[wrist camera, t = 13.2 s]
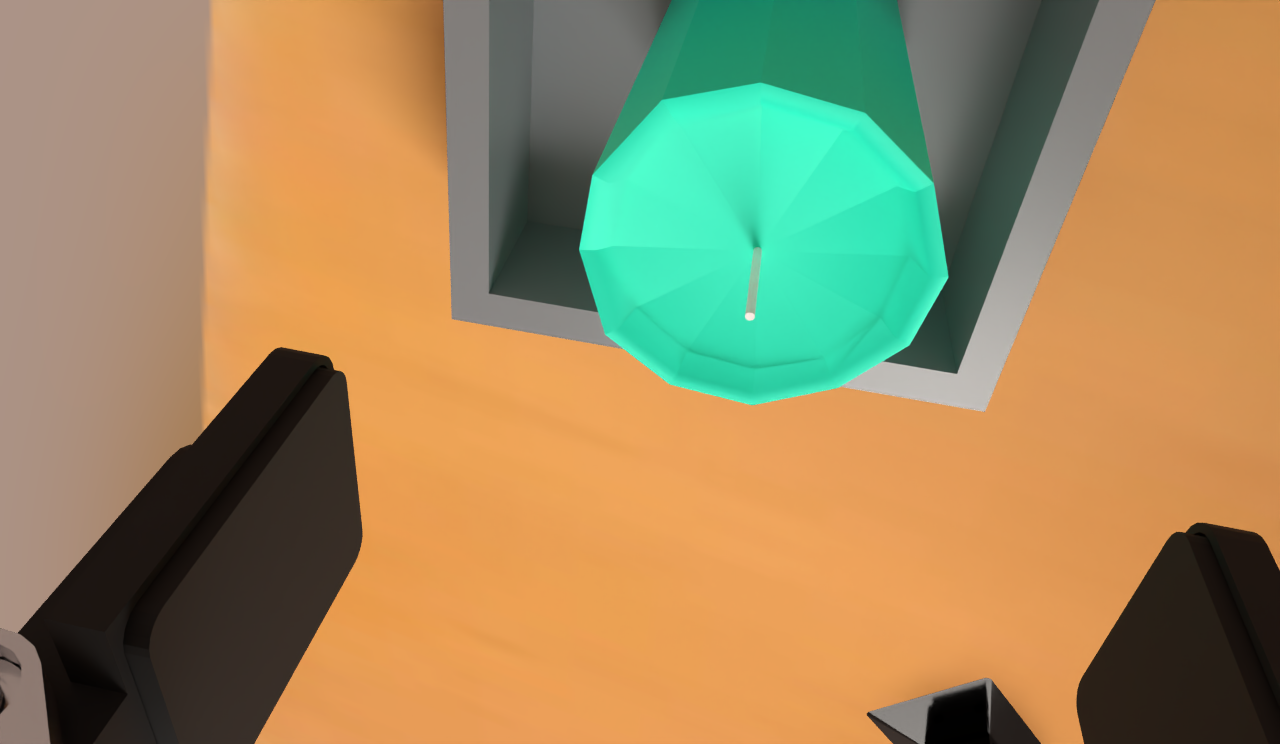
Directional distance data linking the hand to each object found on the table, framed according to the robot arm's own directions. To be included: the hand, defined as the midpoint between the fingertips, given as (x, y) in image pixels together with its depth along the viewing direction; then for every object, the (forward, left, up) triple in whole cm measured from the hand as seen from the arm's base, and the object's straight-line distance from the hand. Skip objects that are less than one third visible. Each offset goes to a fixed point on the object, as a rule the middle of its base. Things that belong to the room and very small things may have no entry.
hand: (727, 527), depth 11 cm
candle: (0, 0, -16) cm, 16 cm away
